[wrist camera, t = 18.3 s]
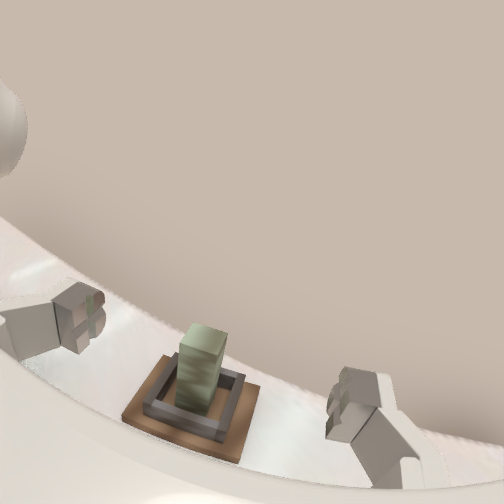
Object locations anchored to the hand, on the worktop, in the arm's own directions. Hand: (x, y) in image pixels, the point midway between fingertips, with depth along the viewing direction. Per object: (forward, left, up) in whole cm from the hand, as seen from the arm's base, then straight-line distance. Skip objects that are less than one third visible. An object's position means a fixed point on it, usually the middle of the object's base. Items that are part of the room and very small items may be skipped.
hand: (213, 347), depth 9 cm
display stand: (-5, +20, -30) cm, 36 cm away
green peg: (-5, +20, -28) cm, 35 cm away
